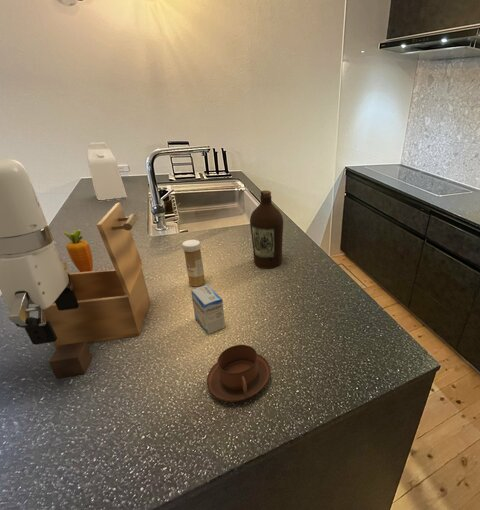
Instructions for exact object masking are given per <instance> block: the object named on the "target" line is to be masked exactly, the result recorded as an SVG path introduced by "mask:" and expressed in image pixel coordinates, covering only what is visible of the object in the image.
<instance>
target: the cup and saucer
mask: <svg viewBox="0 0 480 510" xmlns="http://www.w3.org/2000/svg"><path fill="white" fill-rule="evenodd" d="M270 376H271V365H270V364H269V362H268V360H267V359H266V358H265V357H264V356H262V355H261V354H258V352H257V350H256V349H255V348H254V347H253V346H250V345H247V344H237V345H232V346H229V347H227V348H226V349H224V350H222V351H221V353H219V356H218V358H217V361H216V362H215V363H214V364H213V366H212V367H211V368H210V369H209V372H208V373H207V376H206V386H207V389H208V391H209V393H210V394H211V395H212V396H213V397H215V398H216V399H218V400H220V401H223V402H230V403H231V402H233V403H235V402H241V401H245V400H248V399H251V398H252V397H254V396H256V395H257V394H259V393H260V392H261V391H262V390H263V389H264V388H265V386H266V385H267V384H268V382H269V379H270Z"/></svg>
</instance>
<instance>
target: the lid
mask: <svg viewBox="0 0 480 510" xmlns="http://www.w3.org/2000/svg"><path fill="white" fill-rule="evenodd" d="M138 220H139V216H138V215H137V214H136V213H131V214H130V215H129V216H128V215H127V216H126V215H125V212H124V209H123V207H122V204H121V202H116V203H115V204H114V205H113V206H112V207H111V208H110V209H109V210H108V212H107V213H106V214H105V215H104V216H103V217H102V218H101V219H100V220H99V221H98V222H97V224H96V227H97V230H98V232H99V235H100V238H101V240H102V242H103V244H104V247H105V249H106V252H107V254H108V256H109V258H110V261H111V263H112V266H113V269H115V271H116V273H117V275H118V278H119V280H120V283H121V285H122V287H123V290H124V292H125V295H130V293H131V291H132V289H133V286H134V284H135V282H136V280H137V277H138V275H139V273H140V270H141V268H142V269H143V266H144V264H143V262H142V258H141V255H140V253H139V249H138V248H137V245H136V242H135V240H134V237H133V234H132V231H131V230H132V229H133V227H134V226H135V224H136V223H137V222H138Z"/></svg>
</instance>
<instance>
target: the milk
mask: <svg viewBox="0 0 480 510" xmlns="http://www.w3.org/2000/svg"><path fill="white" fill-rule="evenodd" d="M86 153H87V155H86V159H87V163H88V168H89V171H90V175H91V176H90V177H91V181H92V185H93V189H94V194H95V198H96V199H98V200H105V199H113V198H121V197H127V198H128V195H127V193H126V189H125V185H124V182H123V178H122V176H121V172H120V168H119V165H118V162H117V159H116V158H115V156H114V154H113V152H112V151H111V149H110V148H109V146H108V145H107V143H106V142H88V147H87V152H86ZM98 200H97V201H98Z"/></svg>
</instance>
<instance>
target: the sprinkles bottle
mask: <svg viewBox="0 0 480 510" xmlns="http://www.w3.org/2000/svg"><path fill="white" fill-rule="evenodd" d="M181 246H182V250H183V253H184V258H185V265H186V273H187V279H188V284H189V286H191V287H201V286H204V284H205V283H206V279H205V271H204V263H203V257H202V252H201V247H202V246H201V241H200V240H198V239H188V240H185V241H183V242H182V244H181Z"/></svg>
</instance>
